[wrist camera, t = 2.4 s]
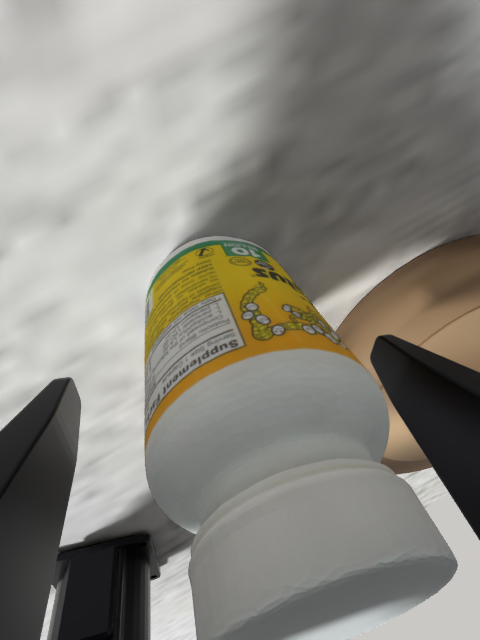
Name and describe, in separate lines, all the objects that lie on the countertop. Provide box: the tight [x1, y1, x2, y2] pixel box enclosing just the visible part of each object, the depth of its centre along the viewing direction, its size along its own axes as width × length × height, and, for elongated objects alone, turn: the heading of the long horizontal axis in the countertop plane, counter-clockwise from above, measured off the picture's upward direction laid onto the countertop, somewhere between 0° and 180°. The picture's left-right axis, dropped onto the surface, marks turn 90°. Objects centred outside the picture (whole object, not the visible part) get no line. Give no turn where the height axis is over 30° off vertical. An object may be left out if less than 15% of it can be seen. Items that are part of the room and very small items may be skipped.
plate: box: [335, 234, 480, 474], centre depth 16 cm, size 14×14×3 cm
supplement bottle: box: [145, 236, 458, 640], centre depth 8 cm, size 5×5×10 cm
